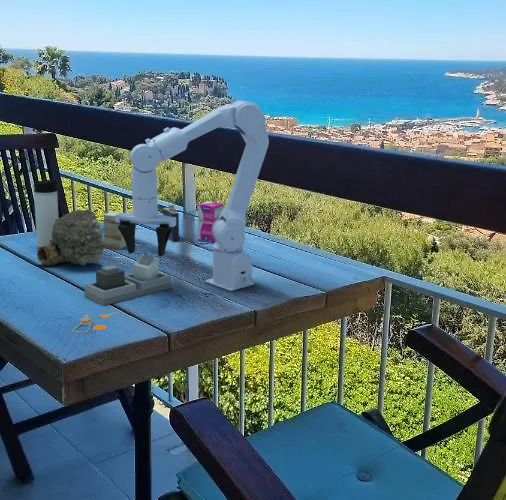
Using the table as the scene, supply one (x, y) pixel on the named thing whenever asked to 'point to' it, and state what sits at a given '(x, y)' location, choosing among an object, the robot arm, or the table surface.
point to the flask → (173, 213)
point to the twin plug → (110, 278)
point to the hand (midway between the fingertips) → (146, 253)
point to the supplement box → (208, 219)
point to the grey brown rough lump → (74, 240)
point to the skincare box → (112, 232)
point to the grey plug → (146, 268)
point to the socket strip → (127, 289)
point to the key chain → (86, 319)
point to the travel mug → (45, 210)
